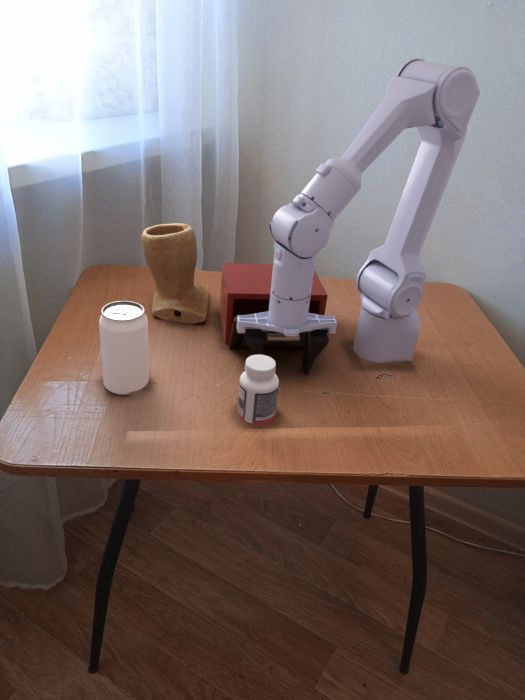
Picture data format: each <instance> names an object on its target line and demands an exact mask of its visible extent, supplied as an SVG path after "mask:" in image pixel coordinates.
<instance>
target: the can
mask: <svg viewBox="0 0 525 700" xmlns="http://www.w3.org/2000/svg"><path fill="white" fill-rule="evenodd" d="M100 312H101V314H100V317H99V321H98V326H99V327H98V328H99V342H100V356H101V370H102V382H103V386H104V388H105V389H106V390H107V391H109V392H110V393H112V394H115V395H118V396H130V393H132V392H133V393H134V392H136V391H139V390H141V389H144V388H145V387H147V385H148V384H149V381H150V356H149V355H150V350H149V348H150V347H149V321H148V317H147V315H146V313H145V308H144V306H143V305H141V304H140V303H138V302H135V301H131V300H117V301H113V302H109V303H107V304H105V305H104V306H103V307H102V308H101V311H100Z"/></svg>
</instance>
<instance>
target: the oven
mask: <svg viewBox="0 0 525 700" xmlns="http://www.w3.org/2000/svg"><path fill="white" fill-rule="evenodd" d="M272 272H273V263H246V262H245V263H243V262H240V263H239V262H222V263H221V280H220V282H221V283H220V298H219V300H220V302H219V314H220V320H221V328H222V334H223V342H224V345H229V341H230V336H231V330H232V325H233V319H234V317H237V316H238V315H250V314H256V313H262V312H268V311H269V302H270V293H271V282H272ZM328 296H329V295H328V293H327V291H326V289H325V287H324V285H323V283H322V282H321V280H320V277H319V276H318V274H317V272H316V270H315V269H314V276H313V283H312V290H311V297H310V304H309V311H308V313H311V314H317V315H323V316H326V315H325V314H326V308H327V302H328Z"/></svg>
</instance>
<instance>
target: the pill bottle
mask: <svg viewBox="0 0 525 700" xmlns="http://www.w3.org/2000/svg"><path fill="white" fill-rule="evenodd" d="M276 367H277V363H276V360H275V359H274V358H272V357H271V356H269V355H265V354H262V355H252V354H251V355H249V356H248V357H247V358H246V360H245V363H244V371H243V372H242V373H241V375H240V377H239V380H238V381H239V382H238V396H237V408H236V409H237V411H236V412H237V415H238V417H239V418H240V419H241V420H242V421H245V422H246V423H248V424H253V425H264V424H268V423H270V422H272V421H273V420H274V419H275V417H276V413H277V403H278V394H279V385H280V380H279V376H278V375H277V374H276V369H277V368H276Z"/></svg>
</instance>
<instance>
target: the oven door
mask: <svg viewBox="0 0 525 700" xmlns="http://www.w3.org/2000/svg"><path fill="white" fill-rule="evenodd" d="M262 334H263V342H264V346H263V350H264V349H266V350H267V349H269V350H270V349H272V350H273V349H274V350H275V349H276V350H277V349H278V350H279V349H281V350H282V349H283V350H284V349H285V350H286V349H287V350H289V349H291V350H295V349H297V350H304V349H305V339H306V332H301V333H299V336H296V337H288V336H285V335H284V333H279V332H274V331H262ZM228 349H250V348H249V346H248V343H247V340H246V336H245V333H238V331H237V317H234V319H233V325H232V330H231V336H230V341H229V344H228Z"/></svg>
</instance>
